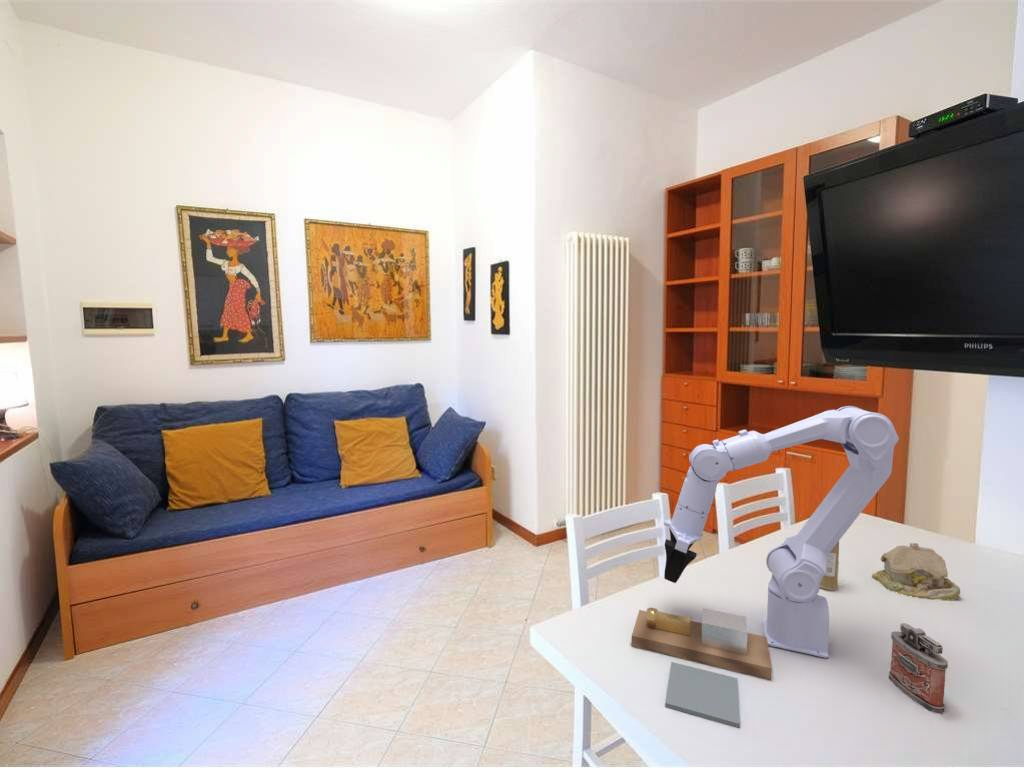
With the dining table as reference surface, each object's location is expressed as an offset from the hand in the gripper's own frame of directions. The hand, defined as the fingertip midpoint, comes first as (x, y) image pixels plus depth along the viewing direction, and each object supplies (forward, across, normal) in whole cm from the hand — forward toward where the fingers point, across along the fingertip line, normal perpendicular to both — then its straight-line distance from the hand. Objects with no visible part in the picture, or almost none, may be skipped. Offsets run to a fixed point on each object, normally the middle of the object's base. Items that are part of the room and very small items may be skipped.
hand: (671, 572), depth 91 cm
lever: (+8, +6, +2) cm, 10 cm away
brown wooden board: (+9, +6, +8) cm, 13 cm away
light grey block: (+6, +6, +11) cm, 14 cm away
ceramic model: (-4, -36, +49) cm, 61 cm away
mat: (+9, +18, +9) cm, 22 cm away
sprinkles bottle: (+1, -28, +32) cm, 43 cm away
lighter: (+1, +5, +38) cm, 38 cm away
